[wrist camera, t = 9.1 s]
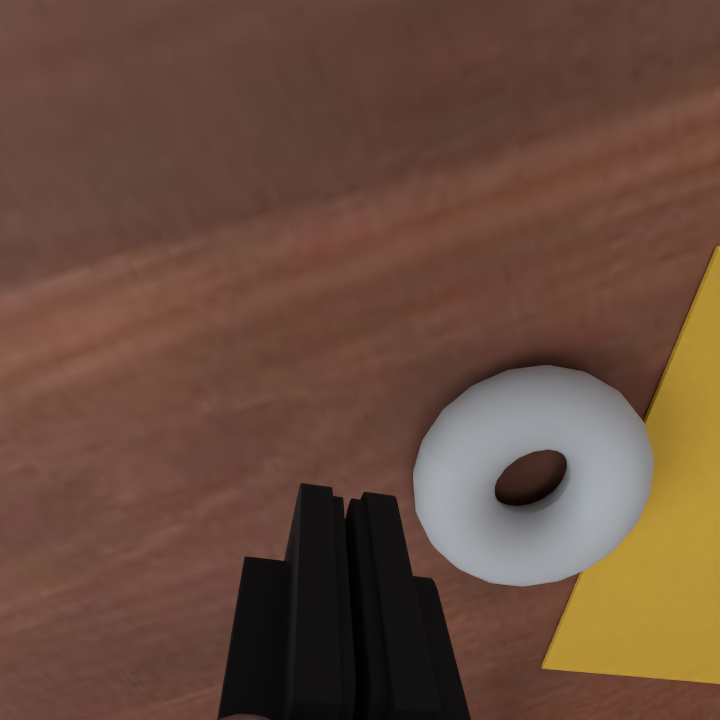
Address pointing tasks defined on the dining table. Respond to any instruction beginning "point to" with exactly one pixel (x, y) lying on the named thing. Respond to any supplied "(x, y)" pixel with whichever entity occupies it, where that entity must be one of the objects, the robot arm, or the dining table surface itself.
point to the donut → (518, 438)
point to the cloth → (663, 532)
